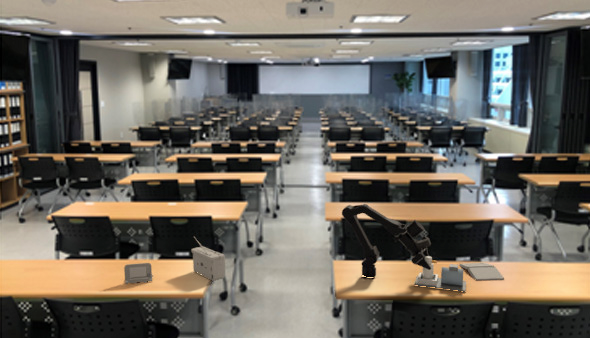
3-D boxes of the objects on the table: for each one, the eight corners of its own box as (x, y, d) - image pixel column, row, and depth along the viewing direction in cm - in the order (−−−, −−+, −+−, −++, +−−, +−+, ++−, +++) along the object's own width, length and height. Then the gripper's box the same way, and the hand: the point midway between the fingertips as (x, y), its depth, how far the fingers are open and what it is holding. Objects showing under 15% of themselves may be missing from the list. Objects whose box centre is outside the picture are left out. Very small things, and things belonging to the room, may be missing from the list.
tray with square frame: (414, 286, 249) (414, 266, 248) (417, 277, 262) (417, 257, 260) (465, 292, 241) (466, 271, 240) (466, 282, 253) (467, 262, 252)
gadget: (504, 280, 258) (505, 274, 257) (475, 281, 257) (475, 274, 256) (485, 265, 280) (485, 259, 279) (458, 266, 279) (459, 259, 279)
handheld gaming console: (152, 275, 268) (152, 257, 266) (152, 282, 259) (151, 263, 257) (126, 278, 265) (125, 259, 263) (125, 284, 256) (123, 265, 254)
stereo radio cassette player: (226, 278, 262) (225, 241, 259) (212, 282, 257) (211, 244, 254) (204, 268, 278) (203, 233, 274) (191, 272, 272) (189, 236, 269)
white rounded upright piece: (421, 282, 252) (422, 258, 250) (422, 278, 257) (423, 255, 255) (435, 284, 250) (436, 259, 248) (436, 280, 254) (437, 256, 252)
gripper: (419, 237, 242) (442, 262, 240) (423, 227, 260) (444, 250, 258) (402, 252, 246) (424, 276, 244) (407, 241, 263) (428, 263, 261)
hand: (431, 266), depth 252 cm, fingers open, 9 cm apart
